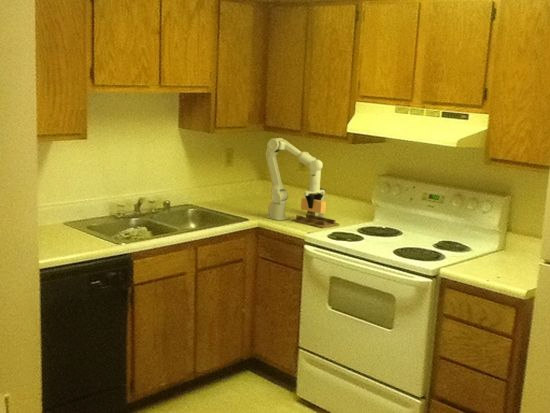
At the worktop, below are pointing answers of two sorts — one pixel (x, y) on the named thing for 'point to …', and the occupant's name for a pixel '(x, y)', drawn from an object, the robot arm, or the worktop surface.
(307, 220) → the drying rack
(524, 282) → the worktop surface
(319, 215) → the coffee box
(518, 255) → the worktop surface
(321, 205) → the orange rectangular block
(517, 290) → the worktop surface
